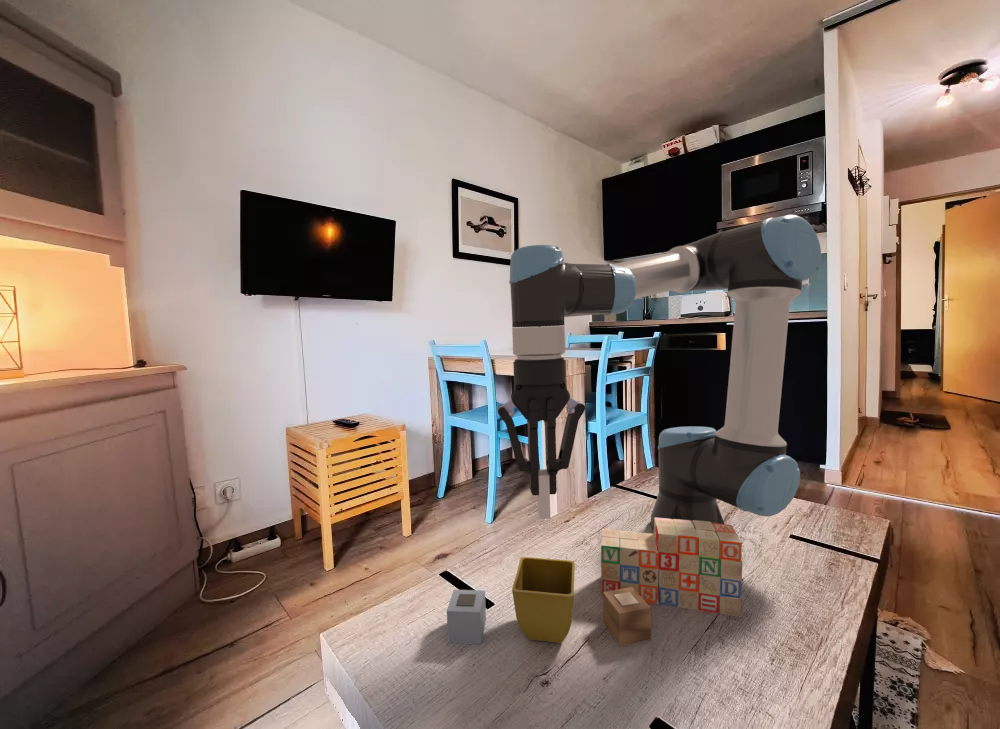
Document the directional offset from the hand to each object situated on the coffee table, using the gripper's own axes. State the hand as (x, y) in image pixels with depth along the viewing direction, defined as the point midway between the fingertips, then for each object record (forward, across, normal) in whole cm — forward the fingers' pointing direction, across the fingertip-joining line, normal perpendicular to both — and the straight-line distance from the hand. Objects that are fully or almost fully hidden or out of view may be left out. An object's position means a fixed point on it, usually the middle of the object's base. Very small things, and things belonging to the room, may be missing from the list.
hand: (544, 514), depth 61 cm
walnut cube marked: (+18, -12, +1) cm, 22 cm away
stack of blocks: (+19, -21, -7) cm, 29 cm away
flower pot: (+18, 0, 0) cm, 18 cm away
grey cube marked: (+18, +12, -1) cm, 22 cm away
